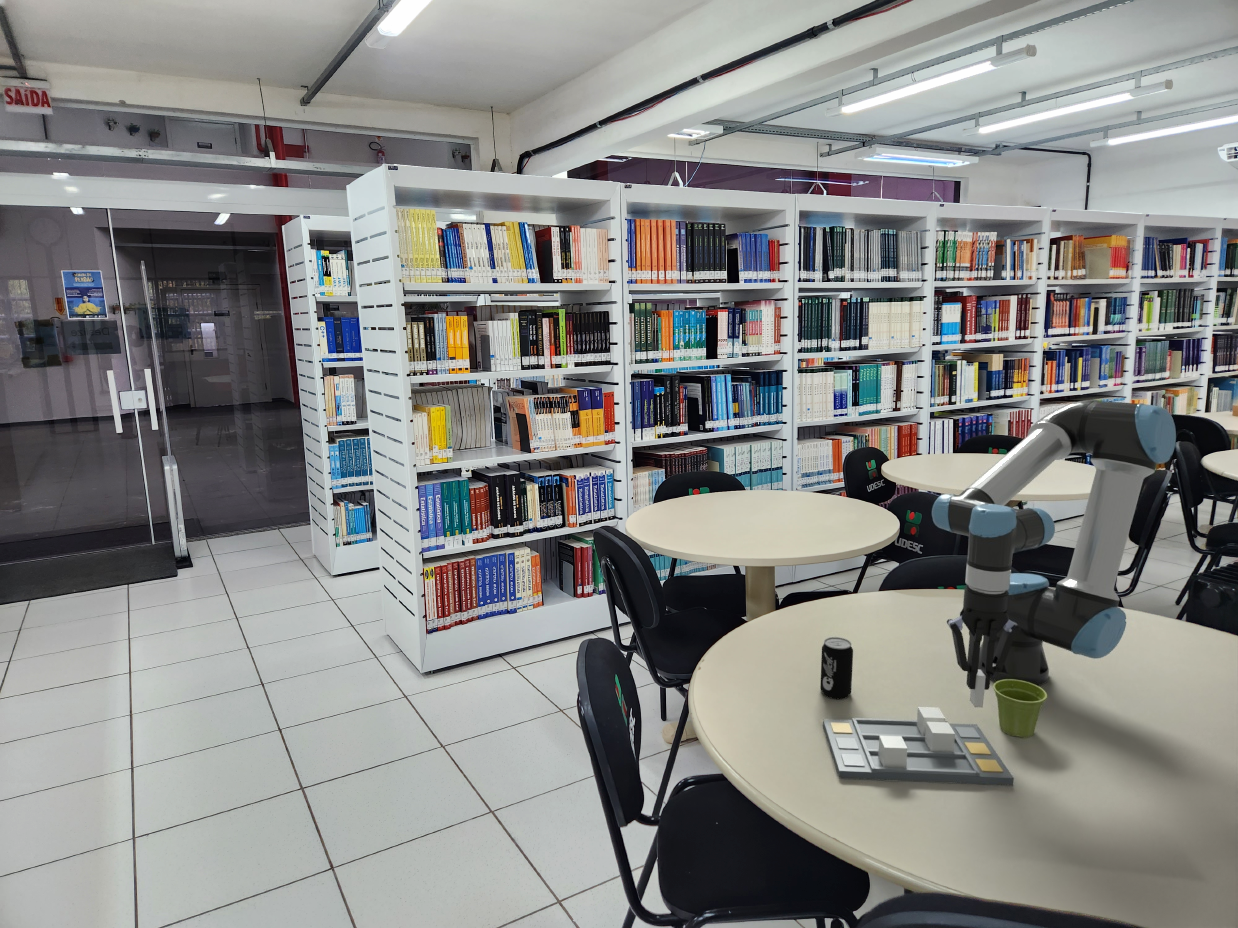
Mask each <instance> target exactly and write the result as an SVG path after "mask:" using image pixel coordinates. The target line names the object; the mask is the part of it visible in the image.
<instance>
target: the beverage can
mask: <svg viewBox="0 0 1238 928" xmlns="http://www.w3.org/2000/svg"><path fill="white" fill-rule="evenodd" d="M853 659H854V648H853V647H852V642H851V641H850V640H848V639H846V638H843V637H836V636H835V637H833V636H832V637H827V638H825V639H824V641H823V645H822V647H821V659H820V660H821V661H820V662H821V663H820V691H821V693H822V694H823V695H824V696H825V697H827V698H829V699H833V700H844V699H847V698H849V696H850V695H851V694H852V688H853V687H852V686H853V685H852V684H853V662H854V661H853Z"/></svg>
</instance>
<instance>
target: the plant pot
mask: <svg viewBox="0 0 1238 928" xmlns="http://www.w3.org/2000/svg"><path fill="white" fill-rule="evenodd" d="M992 687H993V688H992V689H993V691H994V693H995V696H996V699H997V700H996V702H997V710H998V724H999V728H1000V731H1002V732H1003V733H1005V734H1007V735H1009V736H1013V737H1021V738H1024V739H1025V738H1030V737H1032V736H1034V734H1035V731H1036V726H1037V724H1038V719H1039V715H1040V711H1041V707H1042V706H1043V704H1044V702H1045V701H1046V700H1047V698H1048V694H1047V692H1046V691H1045V690H1044V689H1043V688H1042V687H1040V685H1039V686H1037V685H1034V684H1032V683H1029V682H1025V681H1021V680H1012V679H1006V680H1000V681H997V682H996V681H995V682H994V683H993V685H992Z"/></svg>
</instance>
